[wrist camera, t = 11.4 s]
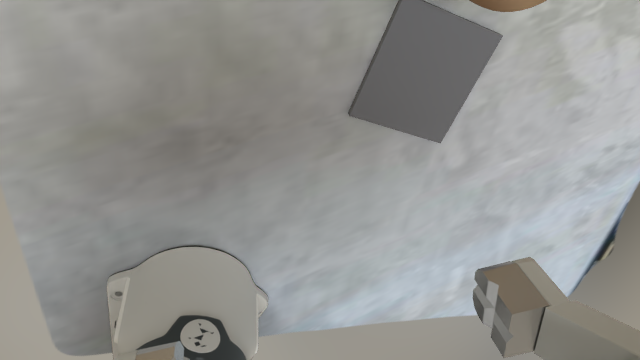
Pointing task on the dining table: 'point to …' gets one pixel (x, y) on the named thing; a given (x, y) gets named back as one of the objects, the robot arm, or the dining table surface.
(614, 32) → the dining table surface
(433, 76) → the mat
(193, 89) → the dining table surface
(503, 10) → the lid
